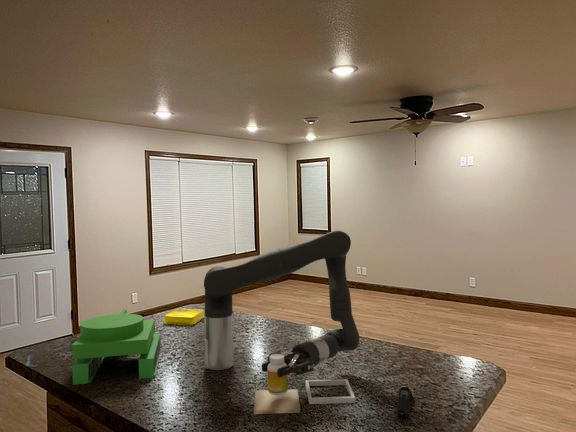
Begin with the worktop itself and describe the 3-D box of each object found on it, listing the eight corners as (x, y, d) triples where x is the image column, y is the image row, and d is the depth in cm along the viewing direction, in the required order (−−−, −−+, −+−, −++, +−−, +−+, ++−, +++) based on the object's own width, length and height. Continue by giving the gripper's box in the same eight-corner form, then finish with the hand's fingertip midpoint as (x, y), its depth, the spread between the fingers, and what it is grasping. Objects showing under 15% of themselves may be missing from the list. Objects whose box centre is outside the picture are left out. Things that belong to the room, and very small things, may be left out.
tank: (163, 345, 172) (162, 304, 171) (155, 378, 137) (154, 327, 137) (97, 350, 166) (96, 308, 166) (71, 386, 132) (70, 332, 132)
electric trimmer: (393, 420, 109) (393, 408, 109) (398, 394, 124) (398, 383, 124) (409, 423, 108) (409, 410, 108) (412, 396, 122) (412, 385, 122)
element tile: (162, 325, 199) (162, 314, 199) (176, 317, 214) (176, 307, 214) (193, 326, 197) (193, 316, 197) (205, 318, 211) (205, 308, 211)
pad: (253, 413, 112) (253, 410, 112) (255, 393, 124) (255, 390, 124) (300, 412, 113) (300, 408, 113) (297, 392, 125) (297, 389, 125)
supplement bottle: (285, 396, 115) (284, 360, 115) (265, 395, 116) (264, 359, 116) (289, 387, 121) (288, 353, 120) (270, 386, 122) (269, 352, 121)
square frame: (309, 404, 118) (309, 398, 117) (305, 384, 130) (305, 380, 130) (355, 402, 118) (355, 397, 118) (347, 383, 131) (347, 379, 131)
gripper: (292, 336, 134) (251, 351, 121) (329, 346, 124) (289, 363, 111) (293, 360, 134) (252, 377, 121) (330, 372, 124) (290, 392, 112)
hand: (270, 370), depth 116 cm, fingers closed on supplement bottle, 5 cm apart
